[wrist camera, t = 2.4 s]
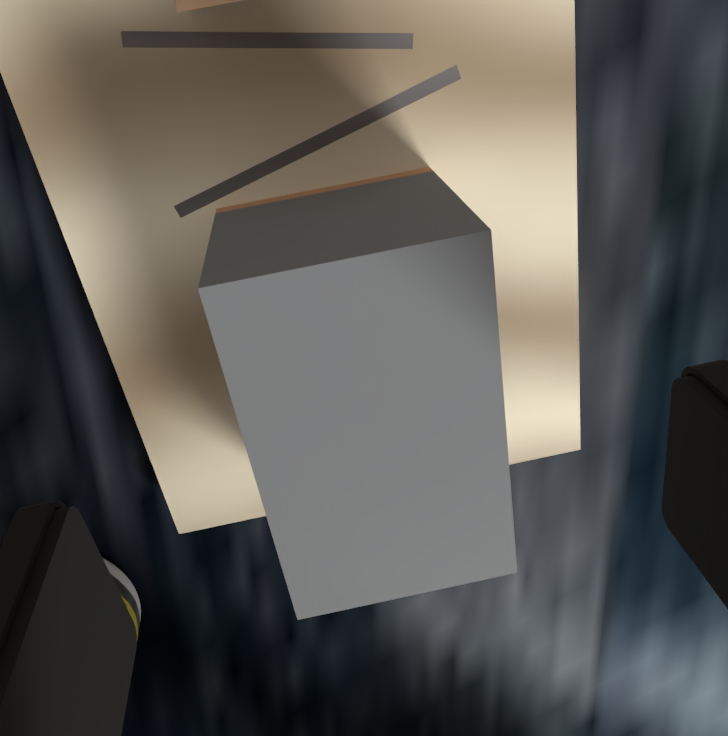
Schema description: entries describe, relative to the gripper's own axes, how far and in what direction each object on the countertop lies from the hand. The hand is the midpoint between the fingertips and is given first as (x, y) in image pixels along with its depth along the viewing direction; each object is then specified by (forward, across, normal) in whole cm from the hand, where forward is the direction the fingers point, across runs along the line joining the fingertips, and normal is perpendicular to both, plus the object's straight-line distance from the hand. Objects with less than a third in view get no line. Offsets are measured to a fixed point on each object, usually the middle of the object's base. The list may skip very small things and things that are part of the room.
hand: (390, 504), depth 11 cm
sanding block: (+7, 0, +1) cm, 8 cm away
